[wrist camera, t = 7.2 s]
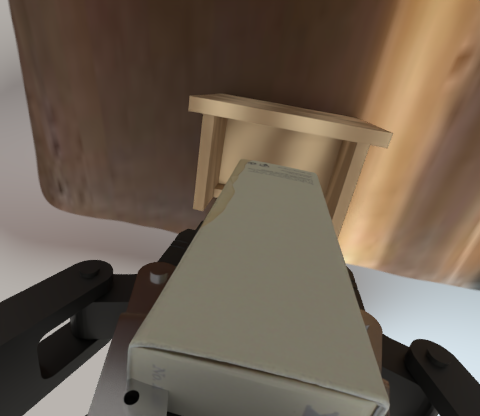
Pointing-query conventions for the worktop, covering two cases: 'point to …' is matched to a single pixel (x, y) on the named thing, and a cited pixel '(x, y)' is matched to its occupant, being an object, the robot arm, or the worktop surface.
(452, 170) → the worktop surface
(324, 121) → the caddy
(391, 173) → the worktop surface
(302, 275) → the skincare box
